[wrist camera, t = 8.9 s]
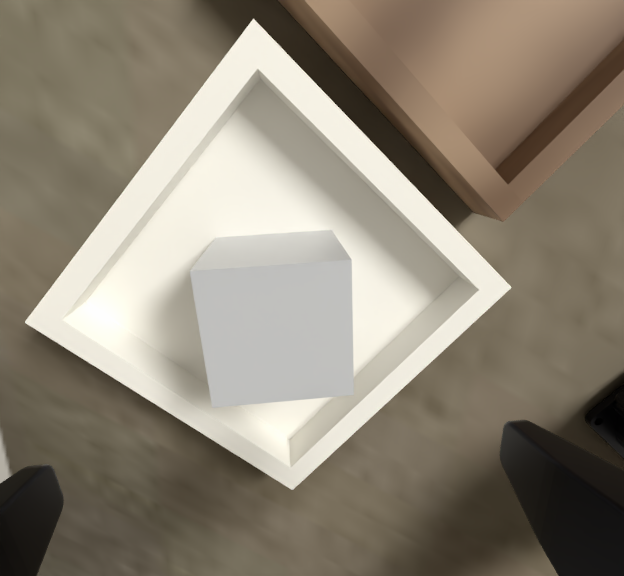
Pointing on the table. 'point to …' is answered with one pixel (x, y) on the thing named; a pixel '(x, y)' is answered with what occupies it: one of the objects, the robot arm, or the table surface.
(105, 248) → the cream tray
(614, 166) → the table surface
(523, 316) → the table surface
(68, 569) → the table surface
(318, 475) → the table surface
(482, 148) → the walnut tray
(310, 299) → the stone block
